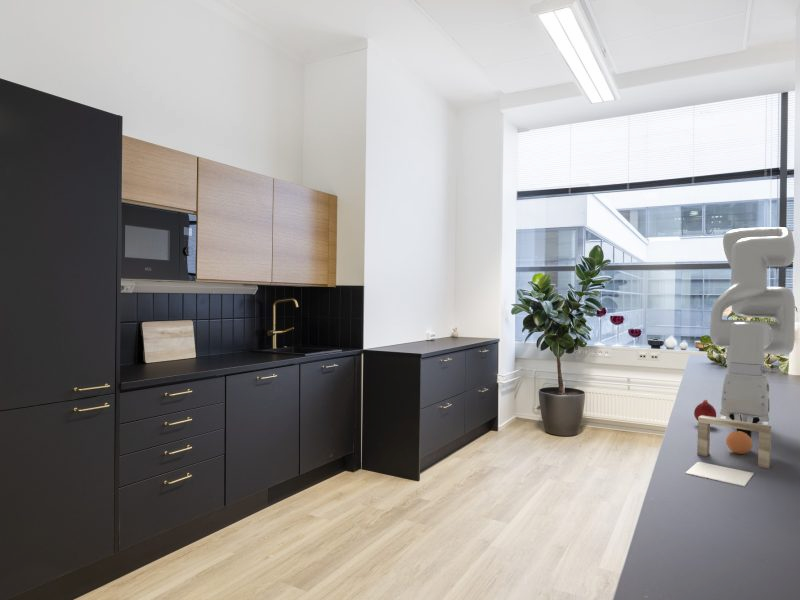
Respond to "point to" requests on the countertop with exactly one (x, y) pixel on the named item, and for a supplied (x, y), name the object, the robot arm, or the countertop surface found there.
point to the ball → (739, 442)
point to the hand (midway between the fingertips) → (743, 441)
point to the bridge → (763, 430)
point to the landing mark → (720, 473)
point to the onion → (704, 410)
